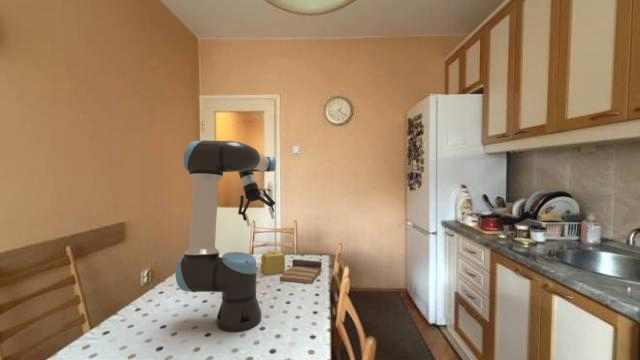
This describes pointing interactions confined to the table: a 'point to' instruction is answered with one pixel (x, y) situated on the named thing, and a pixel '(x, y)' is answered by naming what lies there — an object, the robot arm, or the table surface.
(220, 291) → the robot arm
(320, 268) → the walnut board
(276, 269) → the cheese
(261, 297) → the table surface
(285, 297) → the table surface
